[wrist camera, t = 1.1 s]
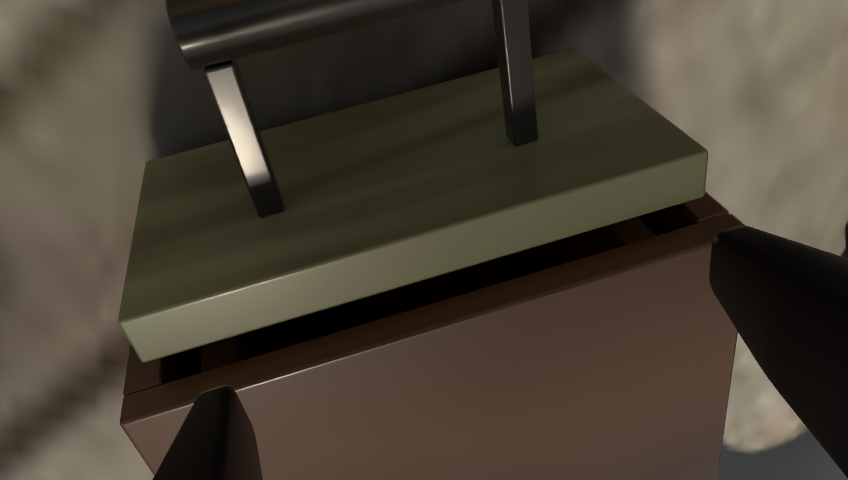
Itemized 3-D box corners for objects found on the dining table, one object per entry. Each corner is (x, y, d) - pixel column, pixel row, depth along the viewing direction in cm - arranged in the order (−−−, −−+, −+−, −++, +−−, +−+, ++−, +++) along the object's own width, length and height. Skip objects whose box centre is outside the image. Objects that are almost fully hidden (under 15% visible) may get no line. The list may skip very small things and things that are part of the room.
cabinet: (150, 202, 20) (117, 424, 13) (581, 84, 22) (754, 230, 15) (286, 482, 29) (310, 709, 22) (592, 384, 30) (706, 568, 23)
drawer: (58, -24, 16) (-26, 84, 10) (565, -145, 17) (732, -105, 12) (283, 454, 26) (301, 633, 21) (587, 358, 28) (679, 503, 22)
